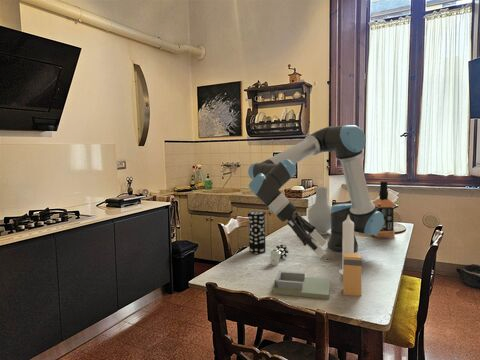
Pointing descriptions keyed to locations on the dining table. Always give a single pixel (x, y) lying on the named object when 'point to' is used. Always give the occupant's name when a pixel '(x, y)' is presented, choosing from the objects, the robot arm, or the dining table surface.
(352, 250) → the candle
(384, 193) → the whiskey bottle
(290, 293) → the mounting board
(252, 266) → the dining table surface
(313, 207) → the vase
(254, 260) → the dining table surface
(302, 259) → the dining table surface
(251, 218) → the white-spotted black cylinder
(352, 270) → the orange box
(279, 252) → the valve
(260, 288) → the dining table surface
